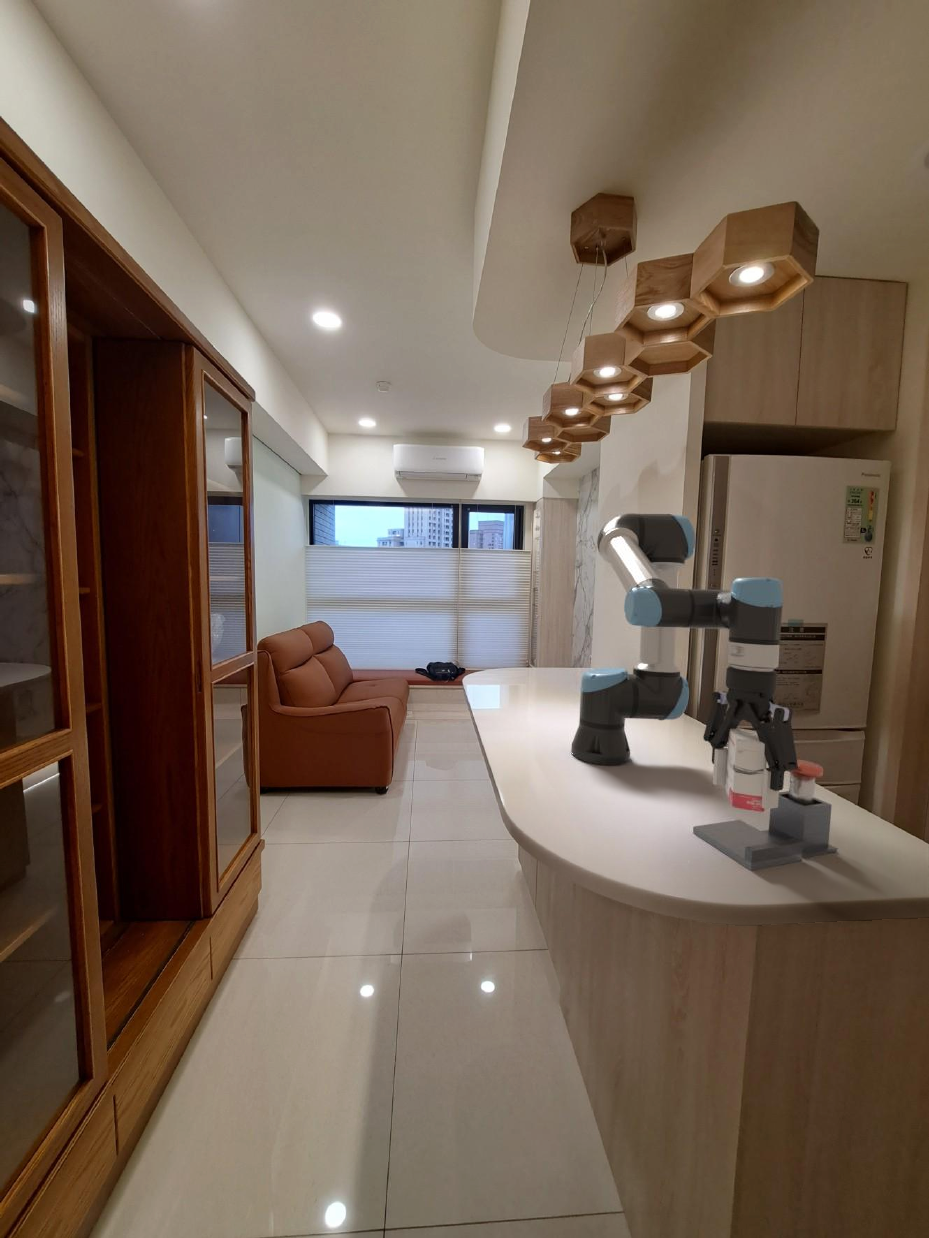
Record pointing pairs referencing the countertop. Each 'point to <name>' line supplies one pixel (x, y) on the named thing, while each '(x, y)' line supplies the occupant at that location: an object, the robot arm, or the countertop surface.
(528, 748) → the countertop surface
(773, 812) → the housing
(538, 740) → the countertop surface
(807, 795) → the plunger
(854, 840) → the countertop surface
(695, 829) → the tray
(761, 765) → the ink box
